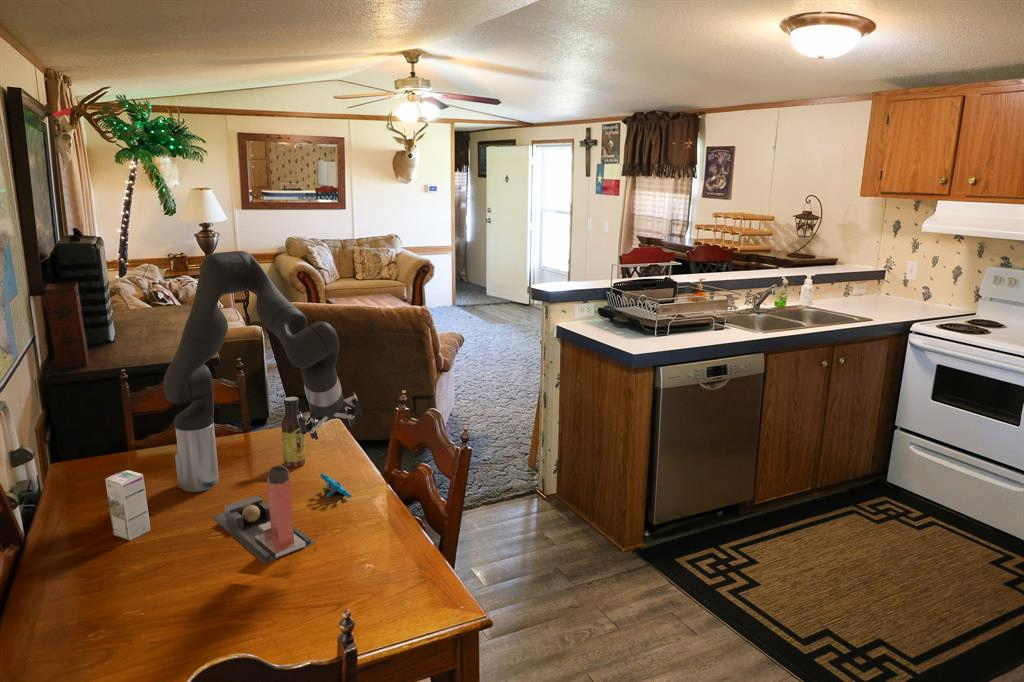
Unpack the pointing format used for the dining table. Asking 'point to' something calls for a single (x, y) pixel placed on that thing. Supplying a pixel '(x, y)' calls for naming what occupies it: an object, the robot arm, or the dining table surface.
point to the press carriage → (279, 516)
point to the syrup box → (128, 504)
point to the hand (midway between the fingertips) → (333, 430)
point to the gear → (334, 486)
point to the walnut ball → (251, 513)
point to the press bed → (251, 526)
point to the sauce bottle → (292, 435)
